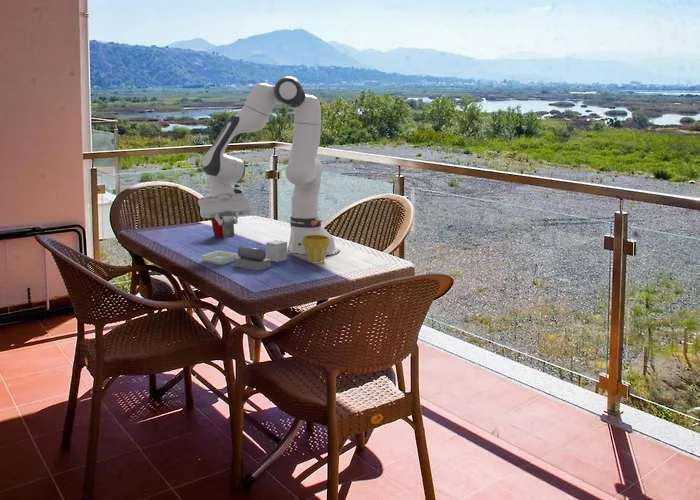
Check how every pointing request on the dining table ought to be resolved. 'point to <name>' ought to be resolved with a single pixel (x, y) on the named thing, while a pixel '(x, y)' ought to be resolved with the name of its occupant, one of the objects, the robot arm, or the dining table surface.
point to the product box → (276, 250)
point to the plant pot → (315, 247)
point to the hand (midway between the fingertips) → (228, 223)
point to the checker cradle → (252, 258)
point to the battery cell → (228, 224)
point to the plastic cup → (217, 227)
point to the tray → (219, 257)
